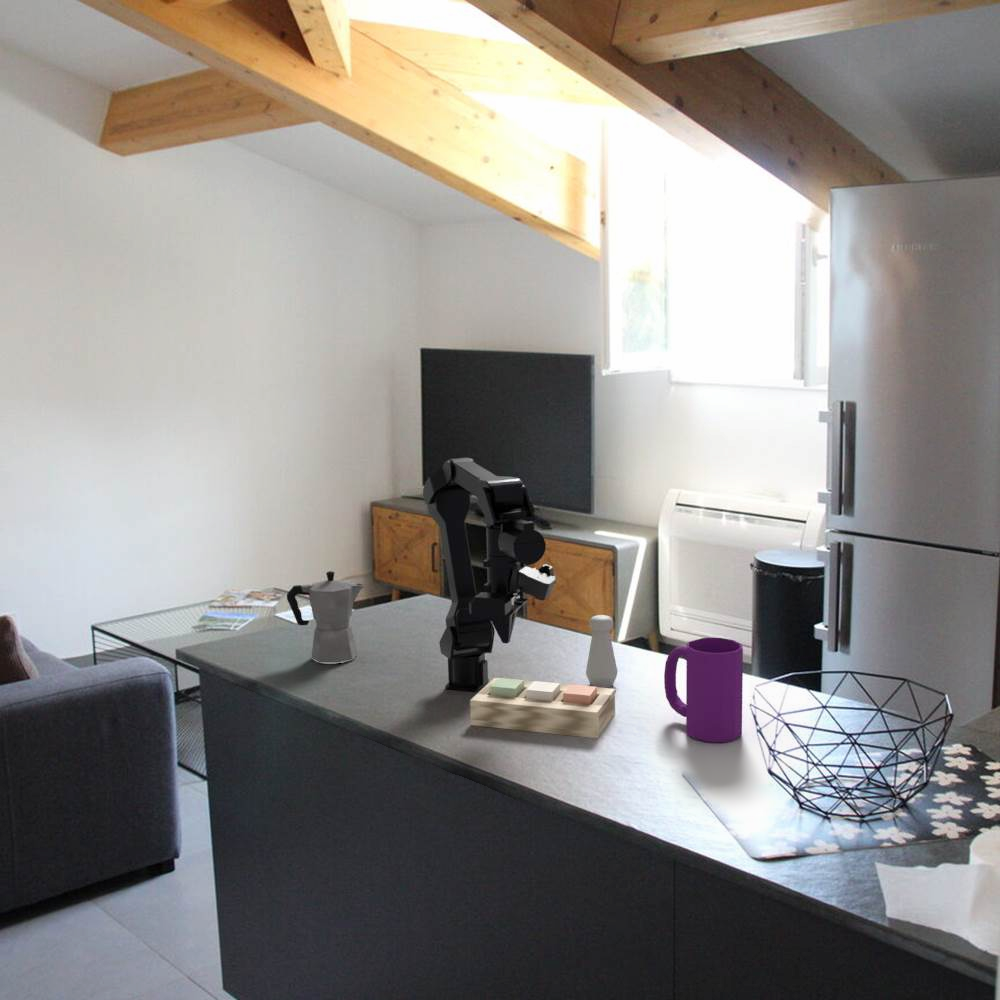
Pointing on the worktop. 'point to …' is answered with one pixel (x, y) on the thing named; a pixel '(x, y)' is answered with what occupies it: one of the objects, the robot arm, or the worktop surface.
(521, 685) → the sage key
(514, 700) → the keypad
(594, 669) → the salt shaker
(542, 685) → the middle key
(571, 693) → the terracotta key
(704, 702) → the mug
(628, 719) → the worktop surface
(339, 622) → the coffeepot
